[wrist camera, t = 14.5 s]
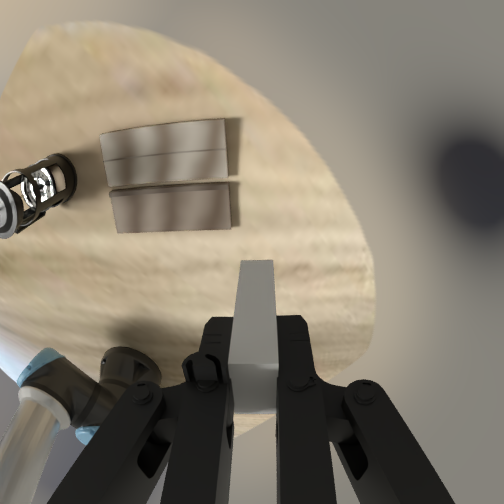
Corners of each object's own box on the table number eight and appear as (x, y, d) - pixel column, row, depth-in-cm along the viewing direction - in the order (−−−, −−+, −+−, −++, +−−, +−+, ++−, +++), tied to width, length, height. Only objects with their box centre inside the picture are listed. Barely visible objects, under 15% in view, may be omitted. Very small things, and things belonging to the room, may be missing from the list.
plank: (111, 184, 48) (108, 187, 47) (102, 133, 43) (99, 135, 42) (228, 175, 47) (227, 178, 46) (224, 118, 42) (223, 119, 41)
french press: (46, 143, 44) (-47, 176, 24) (84, 161, 46) (-8, 205, 25) (34, 198, 49) (-47, 249, 28) (68, 218, 51) (-10, 280, 30)
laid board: (120, 230, 52) (116, 234, 50) (112, 190, 48) (108, 192, 47) (231, 226, 51) (230, 230, 49) (228, 181, 47) (227, 184, 46)
